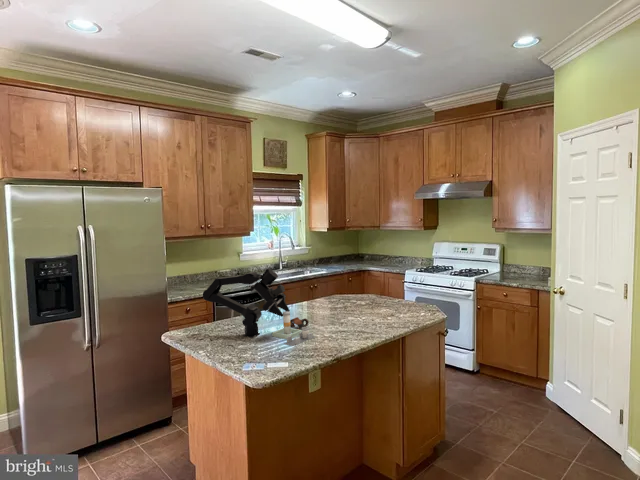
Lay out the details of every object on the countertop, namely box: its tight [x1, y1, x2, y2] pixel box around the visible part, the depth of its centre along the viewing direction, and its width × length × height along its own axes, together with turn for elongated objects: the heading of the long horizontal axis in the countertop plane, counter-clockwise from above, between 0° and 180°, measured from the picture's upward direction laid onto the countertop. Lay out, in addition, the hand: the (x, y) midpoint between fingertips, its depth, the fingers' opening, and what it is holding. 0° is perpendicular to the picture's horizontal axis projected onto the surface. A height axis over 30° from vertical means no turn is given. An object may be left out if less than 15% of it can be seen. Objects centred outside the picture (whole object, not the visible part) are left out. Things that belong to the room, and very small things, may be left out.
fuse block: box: [283, 332, 316, 347], centre depth 199 cm, size 6×17×4 cm, turn 142°
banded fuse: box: [282, 310, 292, 335], centre depth 208 cm, size 4×4×12 cm
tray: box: [271, 327, 302, 340], centre depth 208 cm, size 11×11×3 cm
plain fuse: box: [302, 326, 310, 339], centre depth 202 cm, size 4×4×5 cm
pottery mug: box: [290, 317, 309, 330], centre depth 219 cm, size 12×10×8 cm
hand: (286, 313), depth 208 cm, fingers open, 9 cm apart
